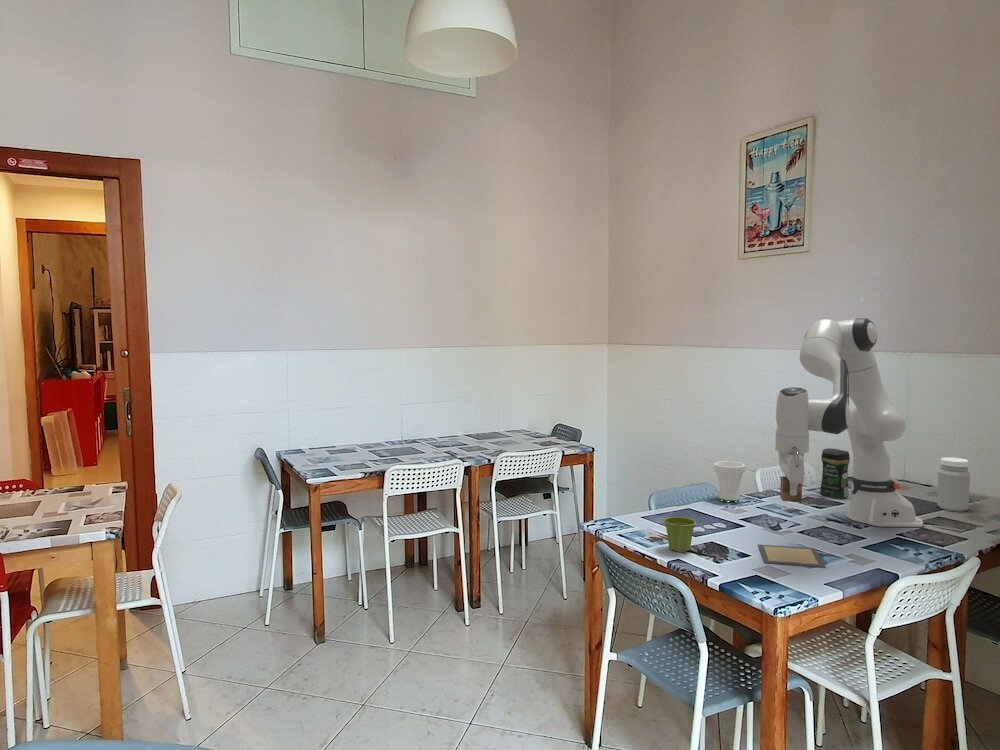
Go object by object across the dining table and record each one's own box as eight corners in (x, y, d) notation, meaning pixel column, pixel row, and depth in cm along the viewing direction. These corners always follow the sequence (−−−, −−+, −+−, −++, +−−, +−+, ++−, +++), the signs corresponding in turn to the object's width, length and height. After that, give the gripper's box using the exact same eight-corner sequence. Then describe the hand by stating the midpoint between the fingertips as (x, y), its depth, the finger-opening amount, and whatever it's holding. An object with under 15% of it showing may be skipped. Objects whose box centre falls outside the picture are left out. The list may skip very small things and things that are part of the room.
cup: (749, 504, 251) (750, 466, 250) (720, 505, 250) (721, 467, 249) (736, 496, 262) (737, 460, 261) (709, 497, 261) (709, 461, 260)
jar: (973, 513, 235) (974, 462, 234) (940, 511, 239) (942, 461, 237) (964, 506, 244) (966, 457, 243) (933, 504, 248) (935, 456, 246)
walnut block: (798, 497, 195) (799, 477, 194) (801, 501, 190) (802, 481, 189) (780, 496, 196) (780, 476, 195) (782, 500, 191) (783, 480, 191)
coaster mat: (814, 549, 199) (814, 548, 199) (825, 567, 184) (825, 566, 184) (757, 545, 204) (757, 544, 204) (763, 563, 188) (763, 562, 188)
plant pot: (660, 544, 206) (660, 516, 205) (691, 544, 206) (691, 516, 205) (667, 554, 197) (667, 525, 196) (699, 554, 196) (699, 525, 196)
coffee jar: (816, 495, 263) (817, 448, 262) (829, 492, 267) (830, 446, 266) (840, 500, 255) (841, 452, 253) (852, 497, 259) (853, 449, 257)
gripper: (810, 451, 181) (809, 501, 182) (798, 439, 201) (797, 484, 202) (785, 450, 183) (784, 500, 184) (775, 438, 202) (774, 483, 203)
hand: (791, 492), depth 193 cm, fingers closed on walnut block, 5 cm apart
